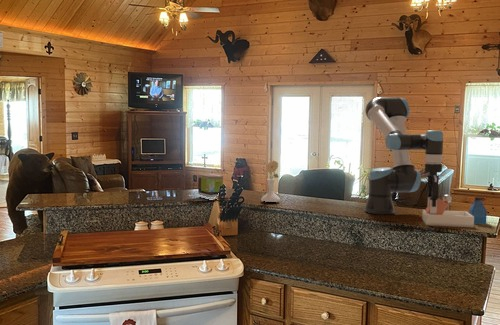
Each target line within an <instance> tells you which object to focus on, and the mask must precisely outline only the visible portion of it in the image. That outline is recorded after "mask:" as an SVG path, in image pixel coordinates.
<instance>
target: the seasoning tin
mask: <svg viewBox="0 0 500 325" xmlns="http://www.w3.org/2000/svg"><path fill="white" fill-rule="evenodd" d="M449 205H450V204H449V203H446V202H444V201H443V199H441V198H439V197H438V199H437V214H433V215H442V214H443V213H444V211H447V208H448V207H449ZM424 210H425V211H426V212H427V213H429V214H431V213H430V204H429V205H428V204H427V207H425V209H424Z"/></svg>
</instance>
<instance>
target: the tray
mask: <svg viewBox="0 0 500 325" xmlns="http://www.w3.org/2000/svg"><path fill="white" fill-rule="evenodd" d="M425 210H426V209H422V221H423V222H424V224H425V225H426V226H432V227H454V228H474V224H475V223H474V216H472V215H471V214H470V213H469V211H467V210H466V211H464V210H463V211H462V210H445V211H444V213H443V214H442V215H433V214H429V213H427V212H426V211H425Z"/></svg>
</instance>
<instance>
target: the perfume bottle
mask: <svg viewBox="0 0 500 325" xmlns="http://www.w3.org/2000/svg"><path fill="white" fill-rule="evenodd" d="M473 202H474V203H471V205H470V206H469V208H468V213H470V214H471V215H472V216H474V224H475V223H479V225H480V224H481V225H486V224H487V215H488V214H487V209H486V207H485V205H484V204H483V197H481V196H479V197H478V196H474V201H473Z"/></svg>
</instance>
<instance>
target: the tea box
mask: <svg viewBox="0 0 500 325" xmlns="http://www.w3.org/2000/svg"><path fill="white" fill-rule="evenodd" d="M197 178H198V179H197V180H198V182H197V184H198V186H197V187H198V188H197V192H198V193H197V194H200V195H203V196H206V197H215V196H217V195H218V193H219V187H220V186H222V185H223V186H224V176H223V175H221V174H213V173H200V174H198V177H197Z"/></svg>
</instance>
